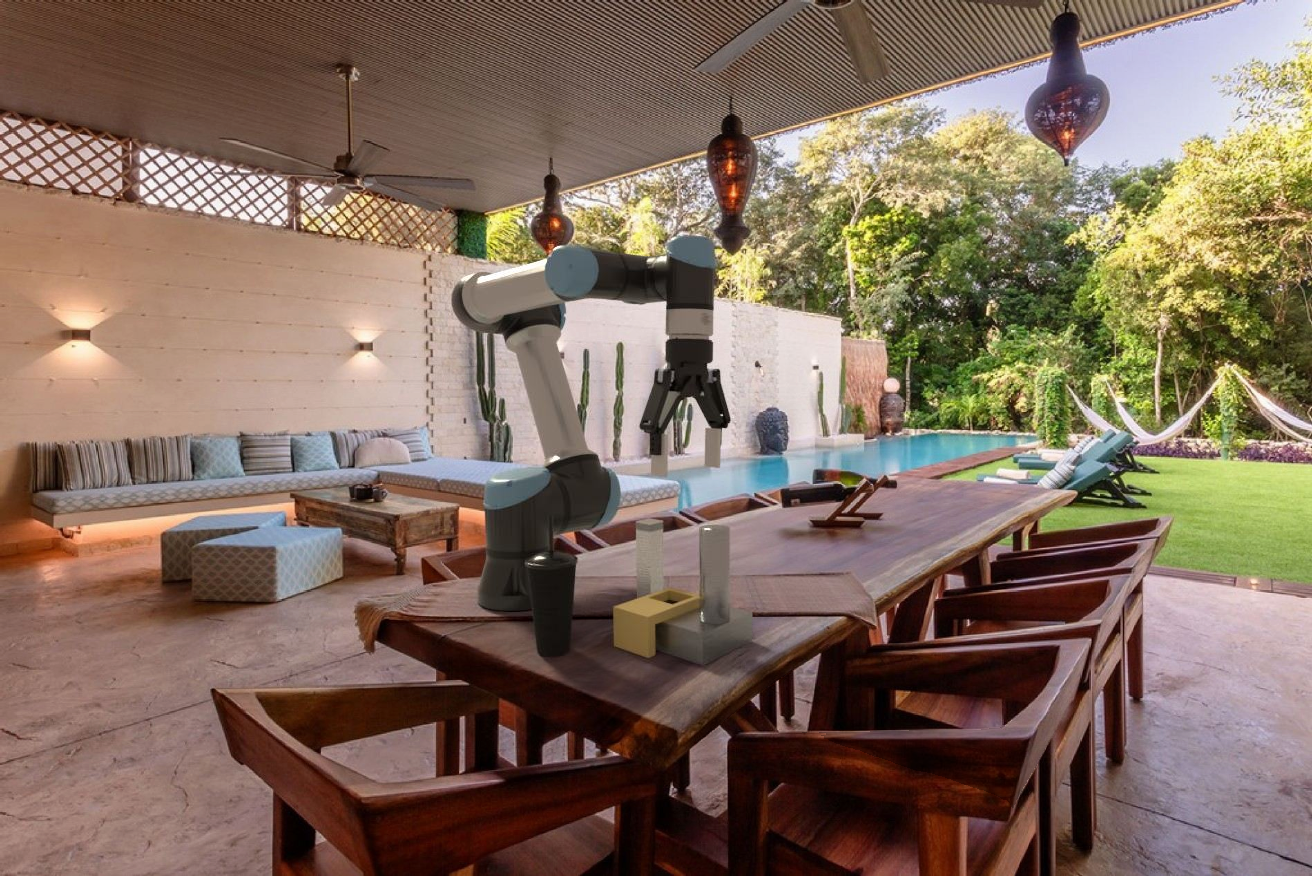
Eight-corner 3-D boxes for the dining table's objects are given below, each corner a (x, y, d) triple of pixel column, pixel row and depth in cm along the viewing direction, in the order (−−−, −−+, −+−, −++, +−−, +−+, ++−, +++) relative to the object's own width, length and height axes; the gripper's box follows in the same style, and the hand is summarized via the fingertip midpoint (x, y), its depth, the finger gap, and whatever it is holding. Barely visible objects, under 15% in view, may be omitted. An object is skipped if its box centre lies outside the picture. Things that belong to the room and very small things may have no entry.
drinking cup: (534, 664, 99) (530, 523, 97) (522, 645, 106) (518, 514, 104) (586, 655, 102) (583, 518, 100) (571, 637, 109) (568, 509, 107)
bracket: (613, 646, 105) (613, 606, 105) (671, 623, 115) (670, 587, 114) (648, 658, 101) (647, 617, 100) (705, 633, 110) (704, 595, 110)
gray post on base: (625, 639, 108) (624, 523, 106) (676, 619, 117) (675, 511, 115) (702, 665, 98) (702, 537, 96) (752, 641, 107) (752, 523, 105)
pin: (636, 614, 119) (635, 521, 118) (649, 609, 122) (648, 518, 120) (651, 619, 117) (650, 523, 116) (664, 614, 119) (663, 520, 118)
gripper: (654, 334, 99) (652, 483, 102) (753, 340, 118) (749, 465, 120) (616, 335, 104) (615, 477, 107) (717, 340, 123) (714, 461, 125)
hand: (686, 471), depth 114 cm, fingers open, 13 cm apart
